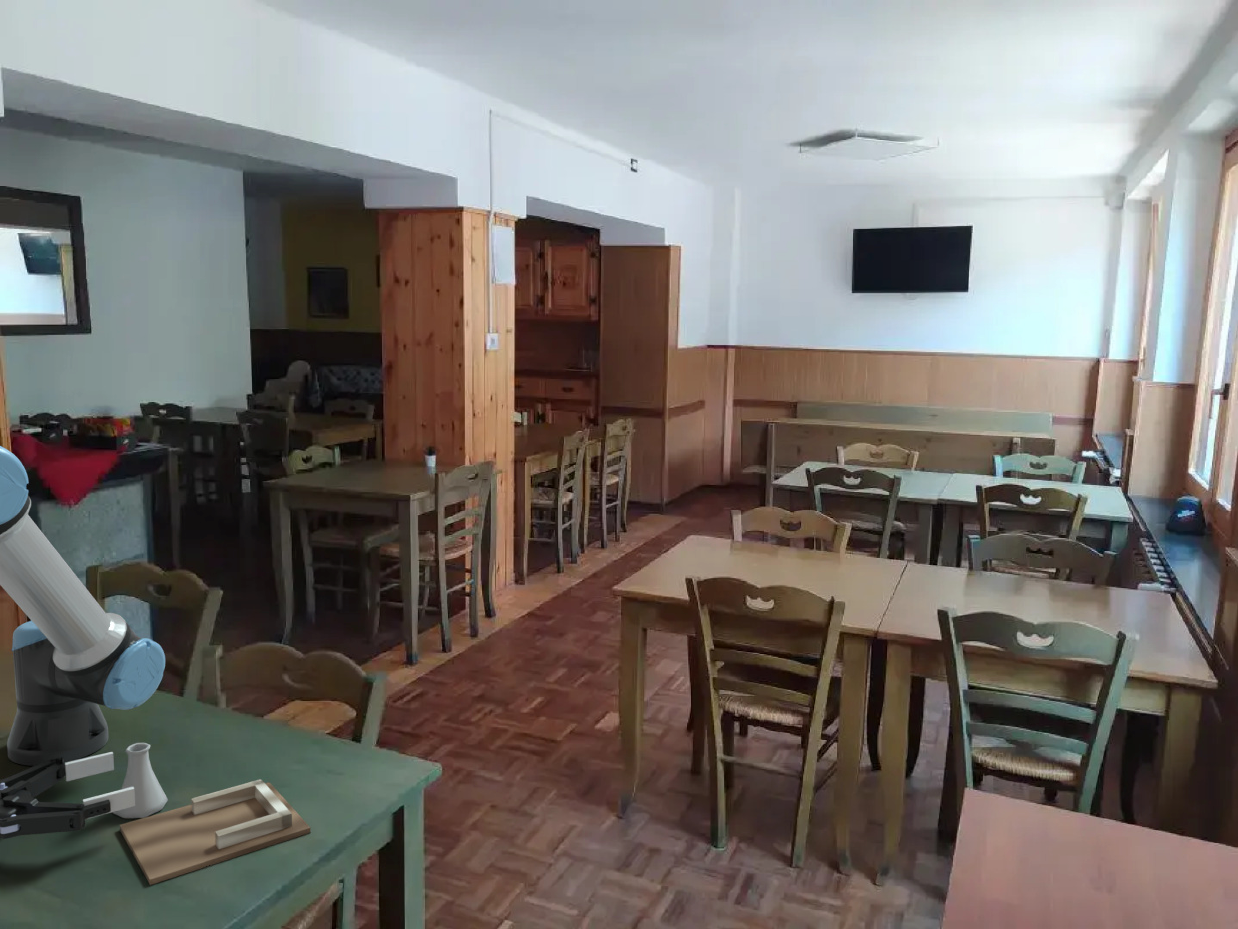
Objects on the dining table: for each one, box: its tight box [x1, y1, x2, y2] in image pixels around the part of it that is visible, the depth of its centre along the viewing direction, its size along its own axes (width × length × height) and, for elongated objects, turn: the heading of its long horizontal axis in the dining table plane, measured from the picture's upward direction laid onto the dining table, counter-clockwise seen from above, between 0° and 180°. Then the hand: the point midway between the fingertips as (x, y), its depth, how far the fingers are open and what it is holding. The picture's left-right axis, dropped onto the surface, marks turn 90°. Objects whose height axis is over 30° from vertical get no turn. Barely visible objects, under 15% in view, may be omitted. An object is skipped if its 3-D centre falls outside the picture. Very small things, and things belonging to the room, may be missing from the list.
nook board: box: [119, 778, 311, 886], centre depth 140 cm, size 17×22×3 cm
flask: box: [112, 742, 169, 819], centre depth 145 cm, size 7×7×10 cm
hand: (123, 777), depth 143 cm, fingers open, 13 cm apart
